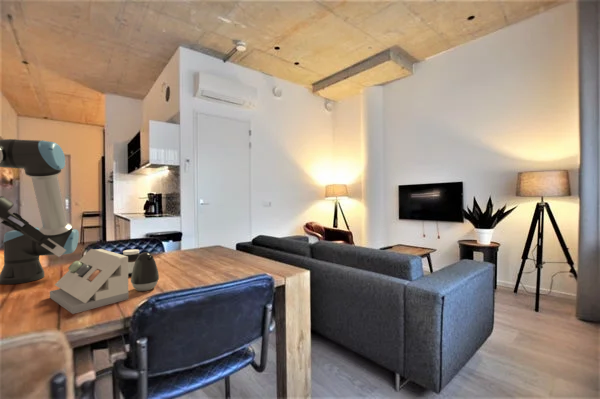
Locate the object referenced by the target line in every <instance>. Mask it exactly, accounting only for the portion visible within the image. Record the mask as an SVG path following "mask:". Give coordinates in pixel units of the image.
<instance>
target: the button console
mask: <svg viewBox="0 0 600 399" xmlns="http://www.w3.org/2000/svg"><path fill="white" fill-rule="evenodd" d="M78 261H79V262H80V263H82V264H87V265H88V266H89V267H91V269H90V270H89V271H88V272H87V273H86V274H85V275H84V276H83V277H82V276H80V275H79V274H77V273H76V272H75V273H73V272H72V271H70V270H69V269H68V271H67V272H66V273H65V274H64V275H63V276H62V277H61V278H60V279H59V280H58V281H56V283H55V284H54V286H56V287H57V288H59V289H53V290H49V298H50V299H51V300H52V301H54V302H55V303H56V304H57V305H60V306H61V307H62V308H64V309H65V310H67V311H68V312H69V313H70V314H72V315H74V314H78V313H82V312H85V311H90V310H93V309H96V308H102V307H105V306H107V305H111V304H115V303H119V302H122V301H125V300H126V301H127V300H129V276H128V256H124V255H123V254H120V253H117V252H113V251H110V250H106V249H103V248H99V249H93V248H90V249H89V250H88V251H87V252H86V253H85V254H84V255H83V256H82V257H81V258H80V259H79V260H78ZM96 270H99V271H101V272H100V273H99V274H98V275H97V276H96V277H95V278H94V280H93V281H90V280H89V277H90V275H91V274H92V273H93V272H95V271H96Z"/></svg>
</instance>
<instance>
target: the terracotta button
mask: <svg viewBox="0 0 600 399" xmlns="http://www.w3.org/2000/svg"><path fill="white" fill-rule="evenodd" d="M100 272H101V271H99V270H96V271H95V272H93V273H92V274H91V275H90V277H89V280H90V281H93V280H94V278H95V277H96V276H97V275H98V274H99V273H100Z"/></svg>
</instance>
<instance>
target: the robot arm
mask: <svg viewBox="0 0 600 399" xmlns="http://www.w3.org/2000/svg"><path fill="white" fill-rule="evenodd" d="M65 167H66V156H65V153H64V151H63V148H62V147H61V146H60V145H59V144H58V143H57V142H55V141H48V140H40V139H39V140H38V139H37V140H36V139H35V140H34V139H33V140H31V139H16V138H14V139H13V138H9V139H8V138H6V139H0V168H9V169H10V168H11V169H22V170H24V173H25V175H26V176H27V177H29V178H30V179H31V182H32V186H33V190H34V194H35V199H36V202H37V203H36V204H37V207H38V210H39V211H38V212H39V216H40V220H41V224H42V226H41V227H40V228H39V227H37V226H36V227H34V226H33V225H31V224H30V223H29V222H28V221H27V220H26V219H24V218H22V217H23V216H22V215H20V214H18V213H17V212H13V213H12V212H10V211H9V210H10V209H12V208H13V206H14V203H13V202H12V201H11V200H10V199H8V198H7V197H6V196H4V195H0V220H2V221H1V222H0V223H1V224H2V225H4V226H6V227H9V228H11V229H12V230H10V231H6V232H5V233H4V235H3V241H2V243H3V267H2V269H1V271H0V285H16V284H23V283H29V282H34V281H38V280H41V279H43V278H45V270H44V267H43V265H42V263H41V262H40V256H42V257H43V256H57V257H58V258H59V257H61V256H62V255H70V254H73V253H74V252H75V251H76V249H77V248H78V244H79V238H80V232H79V230H78V229H77V228H76V229H75V228H73V226H72V223H69V222H68V221H67V217H66V216H67V215H66V211H65V207H64V202H63V196H62V191H61V186H60V182H59V181H60V180H59V175H60V174H61V173H62V170H64V169H65Z"/></svg>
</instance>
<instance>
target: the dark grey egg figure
mask: <svg viewBox="0 0 600 399" xmlns="http://www.w3.org/2000/svg"><path fill="white" fill-rule="evenodd" d="M139 254H140V255H139V256H138V257H137V259H136V261H135V264H134V267H133V270H132V276H130V283H131V285H132V288H133V289H134V290H135V291H137V292H138V291H139V292H146V291H150V290H153V289H154V288H155V287H156V286H157V284H158V282H159V279H160V275H159V270H158V265H157V263H156V260H155V258H154V256H153V255H152V254H151V253H149V252H142V253H139Z"/></svg>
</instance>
